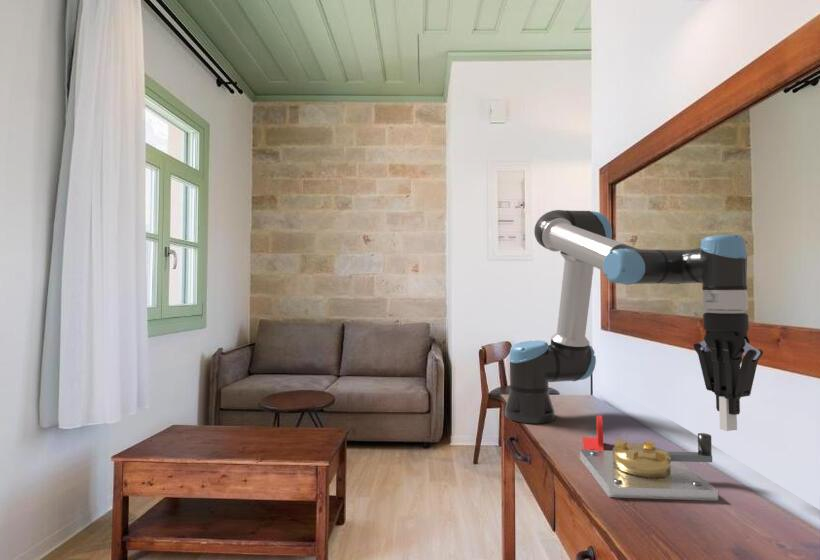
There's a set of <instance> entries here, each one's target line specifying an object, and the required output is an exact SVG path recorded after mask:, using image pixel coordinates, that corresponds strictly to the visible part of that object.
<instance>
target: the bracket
mask: <svg viewBox="0 0 820 560" xmlns="http://www.w3.org/2000/svg"><path fill="white" fill-rule="evenodd" d="M595 424H596V437H589V436H587V437H586V436H582V444H583V445H582V446H583V450H604V447H605V446H604V421H603V415H596V423H595Z"/></svg>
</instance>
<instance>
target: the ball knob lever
mask: <svg viewBox="0 0 820 560" xmlns="http://www.w3.org/2000/svg"><path fill="white" fill-rule="evenodd" d="M712 448H713V447H712V435H711V434H708V433H704V432H699V433H697V451H665V450H663V449H661V448H658V447H656V441H652V440H650V439H649V440H646V441H644V442H643V444H642V443H641V444H640V443H628V442H627V441H625V440H621V439H616V440H615V441H614V446H613V448H612V451H613V464H614V466H615V467H617V468H618V469H620V470H622V471H624V472H627V473H630V474H634V475H638V476H644V477H663V476H667V475H669V474H670V473H671V461H679V462H681V463H683V462H684V463H686V462H689V463H713V454H712V452H713V451H712V450H713V449H712Z"/></svg>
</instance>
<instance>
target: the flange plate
mask: <svg viewBox="0 0 820 560" xmlns="http://www.w3.org/2000/svg"><path fill="white" fill-rule="evenodd" d="M579 459H580V460H581V462H582V463H583V464H584V466H585V467H586V469H587V470H588V471H589V472H590V473H592V474H591V475H592V477H593V478H594V479H595V480H596V481H597V483H598V484H599V486H600V487H601V489H602V490H603V492H605V494H606V496H607V497H608V498H617V499H618V498H619V499H623V498H624V499H647V500H648V499H649V500H650V499H651V500H675V501H676V500H679V501H680V500H681V501H710V502H712V501H713V502H714V501H715V502H719V490H718V489H717V488H716V487H715V486H713V485H712V484H711V483H709V482H708V481H707V480H705V479H704V478H702V477H701V476H700V475H699V474H697V473H696V472H694V471H693V470H692V469H691V468H689V467H688V466H687V465H685V464H684V463H683V462H679V461H671V473H670V474H669V475H667V476H663V477H644V476H638V475H634V474H630V473H627V472H624V471H622V470H620V469H618V468H617V467H615V466H614V464H613V450H606V449H605V450H584V449H580V450H579Z"/></svg>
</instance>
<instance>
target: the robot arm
mask: <svg viewBox="0 0 820 560" xmlns="http://www.w3.org/2000/svg"><path fill="white" fill-rule="evenodd" d="M533 230H534V238H535V240H536V241H537V243H538V244H539V246H541V247H543V248H544V249H547V250H549V251H551V252H559V254H560V255H561V257H562V258H563V259H564V264H563V265H564V266H563V271H562V272H563V273H562V274H563V275H562V280H561V281H562V282H561V283H562V284H561V292H560V298H559V299H560V300H559V308H558V309H559V311H558V318H557V328H556V333H554V334H553V335H552V336H551V339H550V344H549V343H548V342H547V341H545V340H527V341H520V342H516V343H515V344H513V345H512V346H511V347H510V351H509V383H510V384H509V395H508V397H507V401H506V403H505V406H504V407H505V408H504V417H505V418H506V419H508V420H511V421H514V422H517V423H518V422H519V423H523V424H546V423H550V422H552V421H553V422H554V420H555V417H556V416H555V415H556V413H555V408H554V405H553V403H552V400H551V397H550V393H549V383H556V382H577V381H582V380H586V379H588V378H590V376H592V375H593V373H594V370H595V368H596V365H597V364H596V363H597V360H596V355H595V351H594V348H593V347H592V345H591V344H590V343H591V342H590V340H588V338H587V337H586V334H587V333H586V332H587V326H588V316H589V315H588V314H589V308H590V299H591V294H592V293H591V292H592V290H591V289H592V283H593V275H594V269H595V268H597V269H598V270H600V271H602V272H603V274H604V276H605V277H606V279H607V280H608V281H609V282H611V283H614V284H620V285H624V286H625V285H627V286H628V285H640V284H641V285H644V284H645V285H647V284H648V285H650V284H653V285H654V284H655V285H656V284H662V285H663V284H665V285H666V284H667V285H680V284H681V285H682V284H701V285H702V309H703V310H704V311H706V312H703V314H702V319H703V324H702V325H703V330H705V334H704V337H703V340H701V341H700V342H697V343H696V342H695V343H693V348H694V350H695V352H696V354H697V357H698V360H699V364H700V368H701V373H702V377H703V380H704V385H705V389H706V390H707V391H710V392H712V393H714V395H715V403H716V404H715V408H716V411H717V412H719V413H718V414H719V430H722V431H725V432H730V431H737V430H738V419H737V415H739V414H740V413H741V405H740V404H741V403H740V402H741V398H744V397H750V396H751V393H752V388H753V385H754V379H755V375H756V370H757V366H758V362H759V361H760V359H761V357H762V356H763V355H764V351H763V350H762V349H761V348H756V347H754V346H753V345H751V344H750V339H749V337H748V332H749V330H750V329H749V328H750V327H749V326H750V325H749V322H750V321H749V314H748V313H746V311H748V310H749V296H748V295H749V293H748V285H747V284H748V283H747V281H748V280H747V279H748V278H747V277H748V275H747V274H748V271H747V270H748V268H747V267H748V254H747V247H746V245H747V244H746V240H745V238H744V237H743V236H742V235H740V234H717V235H710V236H708V235H707V236H705V237H703V238H702V239H701V241H700V242H701V243H700V246H699V247H698V248H693V249H692V248H690V249H689V248H688V249H642V248H637V247H634V246H631V245H628V244H626V243H624V242H623V243H622V242H620V241H618V240H614V239H612V237H613V231H612V230H613V229H612V225H611V222H610V220H608V217H607V216H606V215H605V214H603V213H602V212H598V211H593V210H592V211H590V210H566V209H565V210H564V209H555V210H550V211H548V212H545V213H544V214H543V215H541V216H540V217H539V219H538V220H537V221H536V223H535V226H534V229H533Z"/></svg>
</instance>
